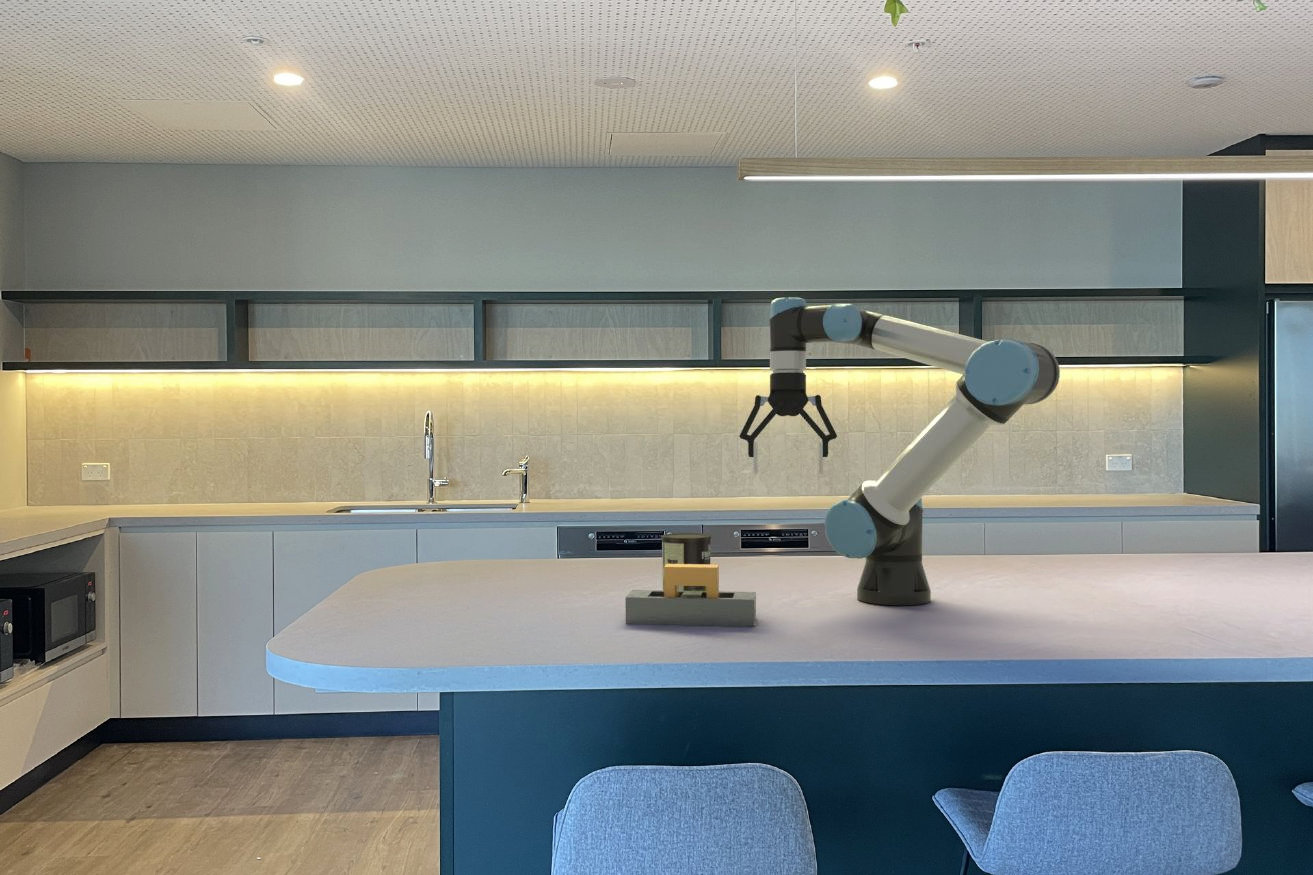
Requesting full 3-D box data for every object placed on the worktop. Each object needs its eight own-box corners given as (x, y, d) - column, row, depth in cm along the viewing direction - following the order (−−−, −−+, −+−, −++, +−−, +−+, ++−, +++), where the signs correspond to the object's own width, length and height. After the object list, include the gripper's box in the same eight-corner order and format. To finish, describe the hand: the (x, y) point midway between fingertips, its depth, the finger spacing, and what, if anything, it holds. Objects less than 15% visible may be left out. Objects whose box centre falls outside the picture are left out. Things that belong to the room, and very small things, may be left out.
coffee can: (714, 599, 227) (714, 532, 226) (707, 607, 217) (706, 538, 216) (666, 597, 229) (666, 532, 229) (657, 606, 219) (656, 537, 218)
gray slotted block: (755, 617, 206) (755, 591, 206) (754, 626, 197) (754, 599, 197) (632, 615, 209) (632, 589, 209) (625, 623, 200) (625, 597, 200)
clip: (718, 614, 204) (718, 564, 204) (717, 618, 200) (717, 567, 200) (666, 613, 206) (666, 563, 206) (664, 616, 202) (664, 566, 202)
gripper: (847, 372, 227) (847, 472, 228) (729, 373, 230) (729, 471, 231) (849, 370, 220) (849, 474, 220) (727, 372, 223) (727, 473, 223)
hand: (788, 473), depth 225 cm, fingers open, 13 cm apart
